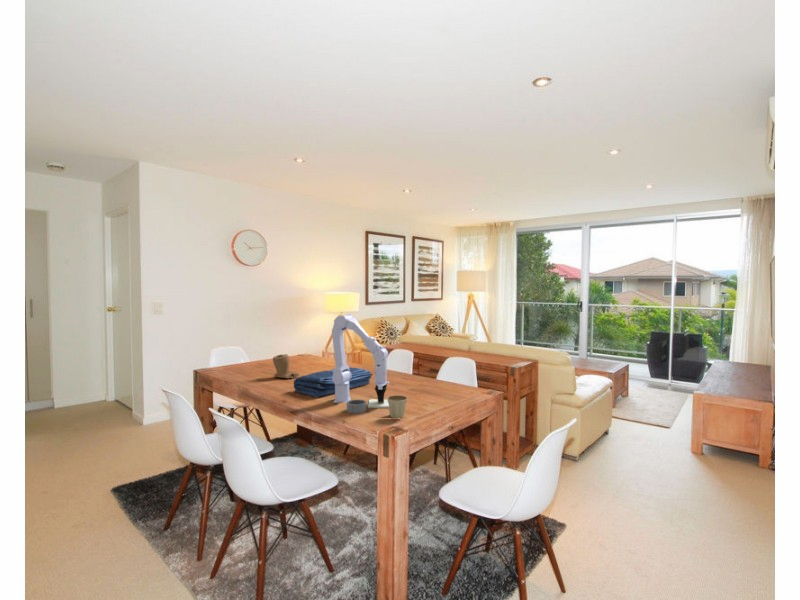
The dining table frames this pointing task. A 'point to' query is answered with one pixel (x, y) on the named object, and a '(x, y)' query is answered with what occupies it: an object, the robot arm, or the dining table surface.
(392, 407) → the flower pot
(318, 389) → the towel
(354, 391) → the dining table surface
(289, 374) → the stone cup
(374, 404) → the lid
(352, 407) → the bowl
